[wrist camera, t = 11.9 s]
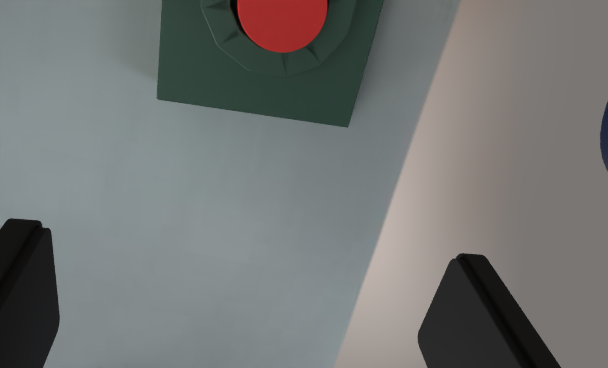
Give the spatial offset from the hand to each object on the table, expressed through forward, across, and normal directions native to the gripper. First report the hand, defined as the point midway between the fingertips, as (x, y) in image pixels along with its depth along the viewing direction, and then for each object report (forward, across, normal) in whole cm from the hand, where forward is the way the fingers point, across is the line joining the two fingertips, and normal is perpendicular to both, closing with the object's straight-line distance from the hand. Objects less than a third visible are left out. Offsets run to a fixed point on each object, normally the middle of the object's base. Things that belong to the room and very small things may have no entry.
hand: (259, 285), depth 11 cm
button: (+13, -1, -4) cm, 14 cm away
